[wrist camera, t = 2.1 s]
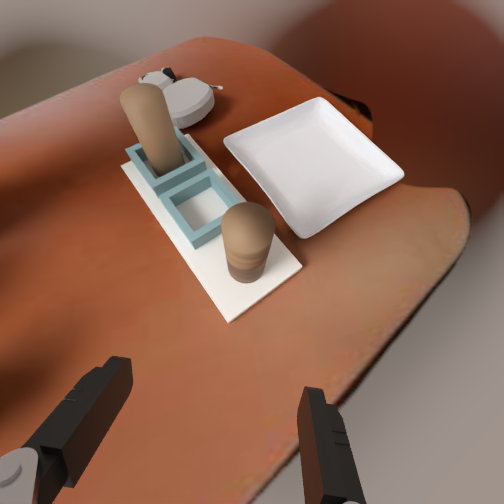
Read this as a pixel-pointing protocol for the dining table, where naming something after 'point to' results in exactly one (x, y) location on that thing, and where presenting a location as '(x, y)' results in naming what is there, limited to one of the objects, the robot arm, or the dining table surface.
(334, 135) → the salad plate
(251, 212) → the walnut column
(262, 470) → the dining table surface
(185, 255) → the base board
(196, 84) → the robot toy
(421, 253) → the dining table surface
